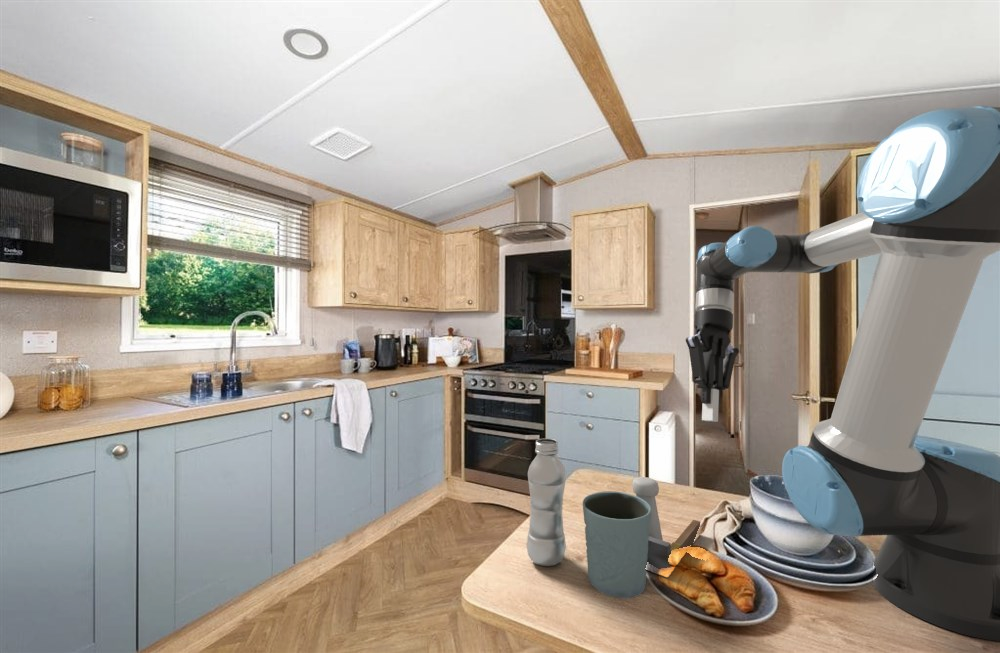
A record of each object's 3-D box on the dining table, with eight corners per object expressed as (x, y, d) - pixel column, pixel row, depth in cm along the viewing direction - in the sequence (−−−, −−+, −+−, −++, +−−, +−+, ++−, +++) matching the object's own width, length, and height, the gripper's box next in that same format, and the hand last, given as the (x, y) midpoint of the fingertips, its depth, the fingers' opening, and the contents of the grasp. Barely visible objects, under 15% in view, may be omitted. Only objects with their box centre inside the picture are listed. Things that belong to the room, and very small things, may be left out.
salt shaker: (656, 546, 75) (657, 473, 75) (668, 564, 69) (669, 486, 69) (623, 545, 75) (624, 473, 75) (632, 563, 69) (633, 485, 69)
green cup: (650, 570, 68) (651, 495, 68) (650, 610, 58) (651, 524, 58) (587, 557, 71) (587, 487, 71) (577, 594, 62) (577, 512, 62)
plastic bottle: (518, 560, 70) (518, 441, 70) (545, 545, 75) (545, 434, 75) (547, 577, 66) (547, 449, 65) (574, 560, 70) (574, 441, 70)
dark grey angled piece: (700, 534, 79) (700, 508, 79) (667, 578, 65) (667, 546, 65) (640, 516, 86) (640, 492, 86) (600, 552, 73) (600, 523, 73)
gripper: (721, 322, 98) (718, 425, 92) (677, 308, 94) (671, 415, 88) (750, 316, 91) (749, 426, 85) (704, 300, 87) (699, 415, 81)
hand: (709, 420), depth 86 cm, fingers closed
